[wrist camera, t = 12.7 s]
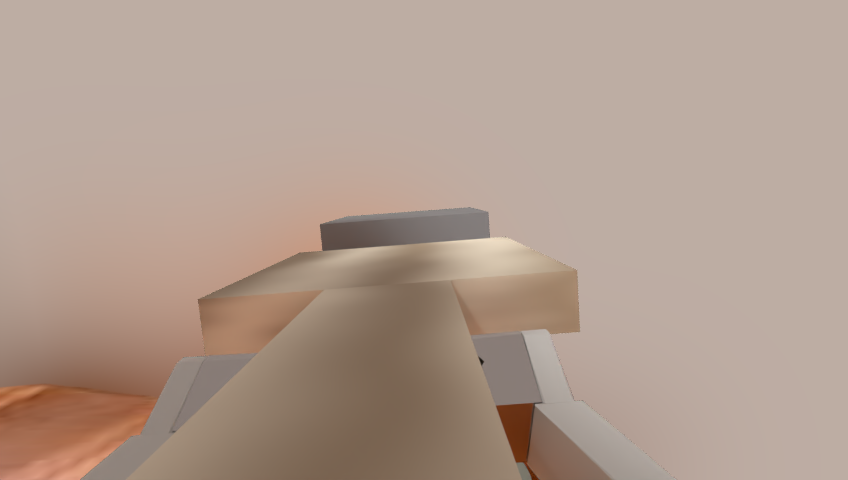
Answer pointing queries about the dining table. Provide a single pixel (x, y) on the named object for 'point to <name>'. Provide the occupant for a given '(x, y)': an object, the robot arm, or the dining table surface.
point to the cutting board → (366, 364)
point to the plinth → (405, 228)
